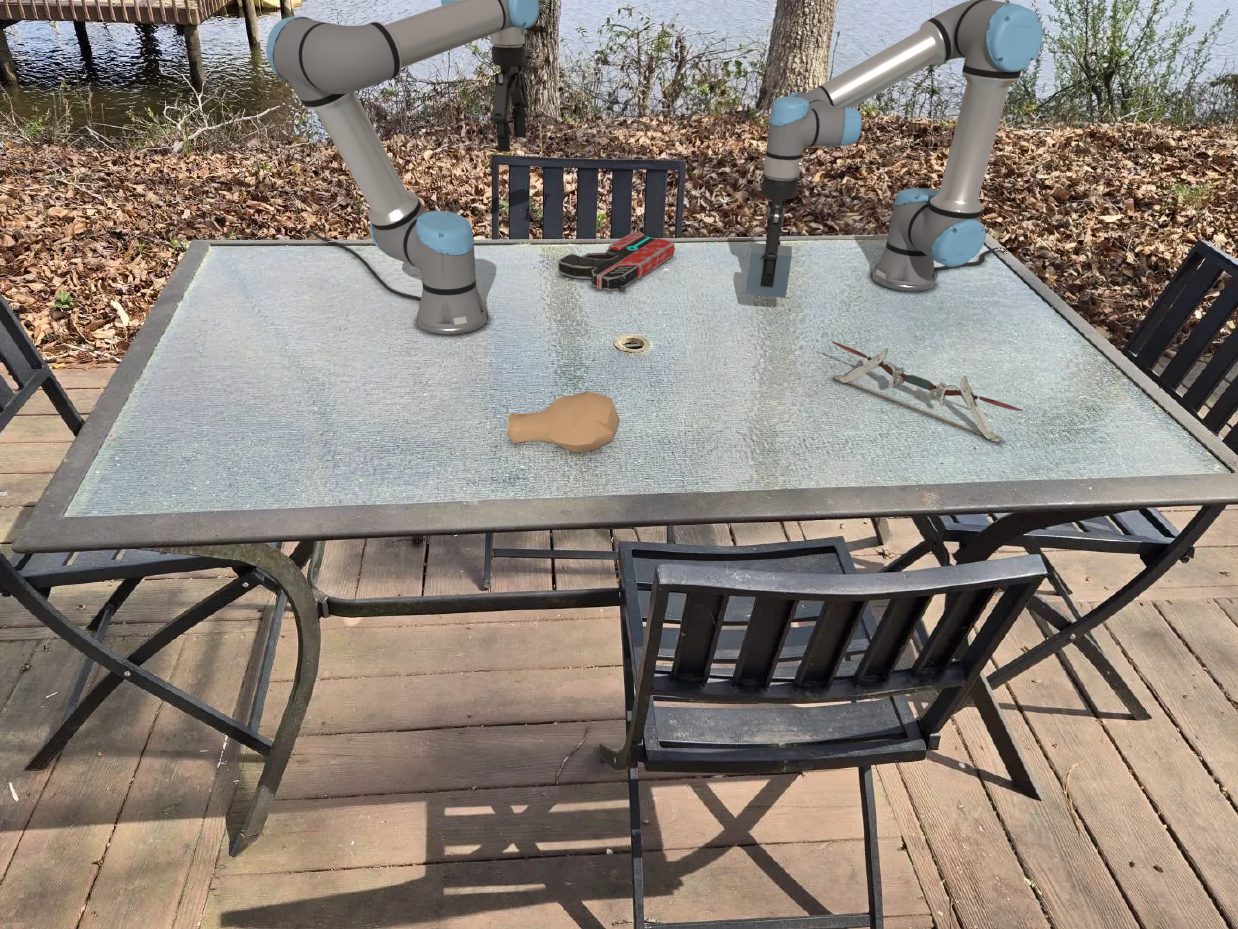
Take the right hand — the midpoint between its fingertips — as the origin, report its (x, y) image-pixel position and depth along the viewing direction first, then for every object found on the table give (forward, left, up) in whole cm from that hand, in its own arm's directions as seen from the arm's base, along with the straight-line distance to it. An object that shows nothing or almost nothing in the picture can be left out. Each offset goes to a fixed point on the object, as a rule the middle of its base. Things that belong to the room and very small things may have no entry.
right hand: (767, 279), depth 198 cm
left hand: (+45, -46, +22) cm, 68 cm away
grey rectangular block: (0, 0, -3) cm, 3 cm away
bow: (-6, +47, -9) cm, 49 cm away
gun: (+20, -39, -9) cm, 45 cm away
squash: (+61, +36, -9) cm, 71 cm away
